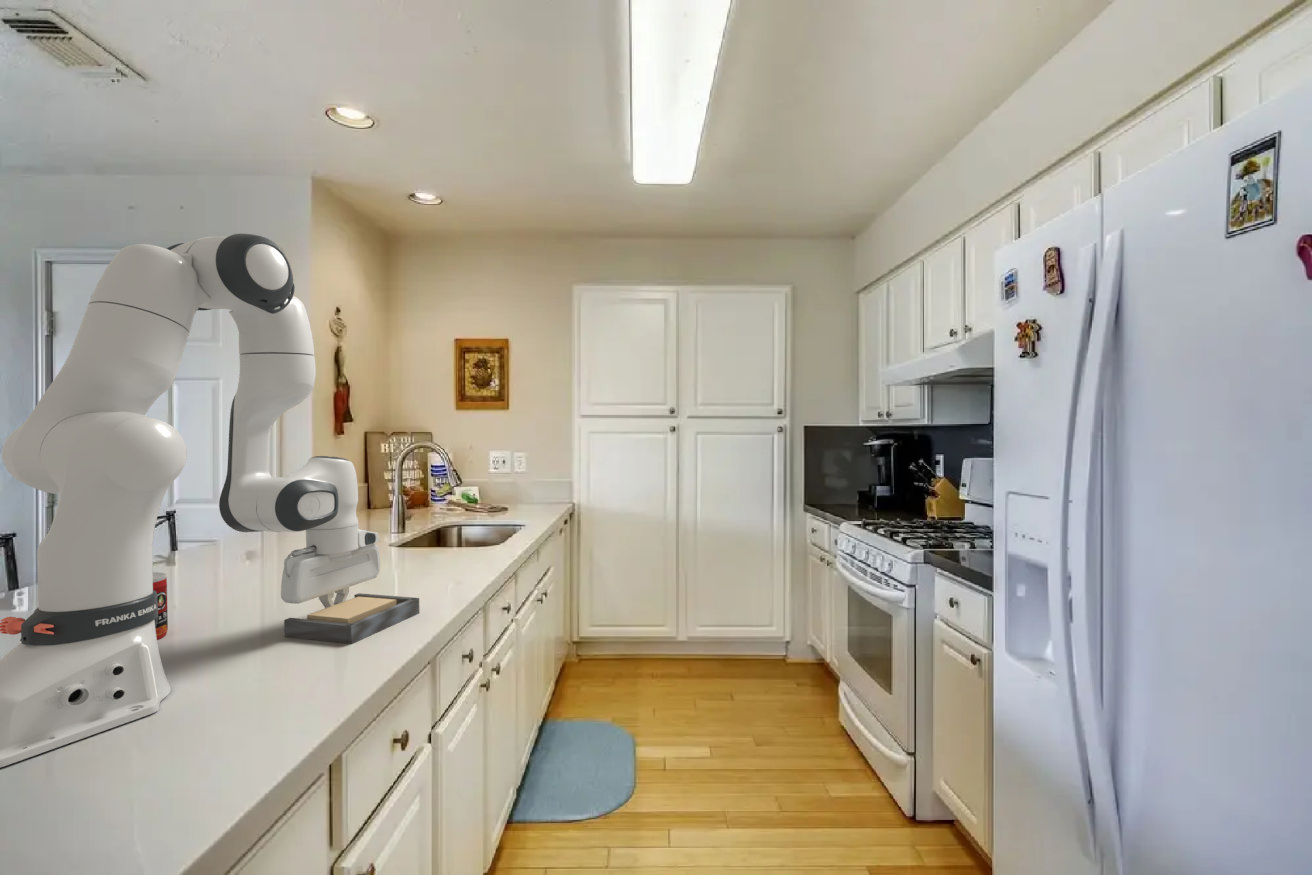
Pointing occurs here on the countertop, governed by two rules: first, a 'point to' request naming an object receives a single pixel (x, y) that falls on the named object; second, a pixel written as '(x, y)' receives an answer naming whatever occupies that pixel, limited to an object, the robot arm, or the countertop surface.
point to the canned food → (161, 603)
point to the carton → (352, 610)
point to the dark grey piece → (353, 630)
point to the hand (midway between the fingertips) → (334, 613)
